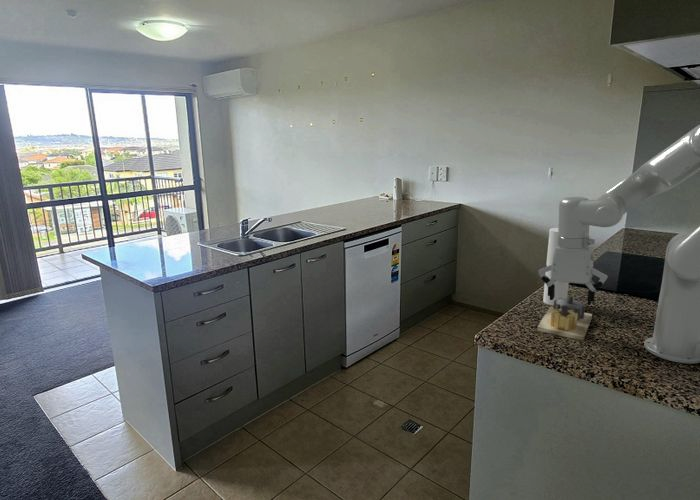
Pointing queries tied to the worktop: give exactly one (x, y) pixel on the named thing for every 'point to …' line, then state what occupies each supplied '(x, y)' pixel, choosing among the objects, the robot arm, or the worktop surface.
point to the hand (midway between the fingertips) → (570, 300)
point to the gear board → (561, 332)
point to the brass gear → (564, 320)
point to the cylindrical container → (560, 287)
